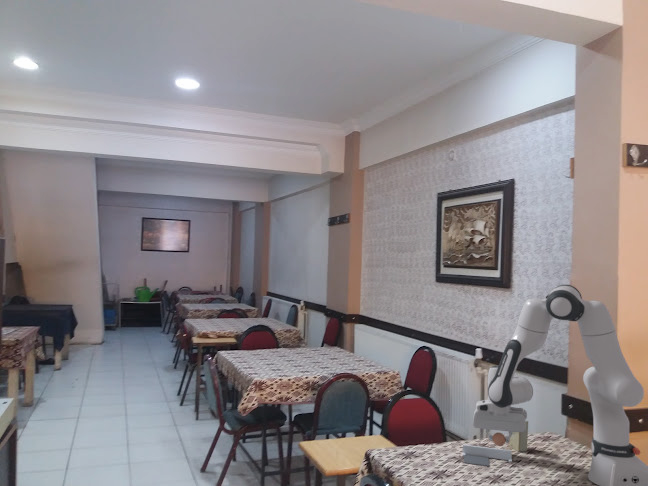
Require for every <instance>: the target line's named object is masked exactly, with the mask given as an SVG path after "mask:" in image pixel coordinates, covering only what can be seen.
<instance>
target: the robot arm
mask: <svg viewBox="0 0 648 486" xmlns="http://www.w3.org/2000/svg"><path fill="white" fill-rule="evenodd" d="M553 319H556V320H560V321H570V322H577V325H578V328H579V331H580V336H581V340H582V343H583V347H584V352H585V354H586V357H587V358H588V360H589V361H590V363H591V365H593V366H591V367H589V368H587V369H586V370H585V371H584V373H583V378H582V380H583V383H584V386H585V388H586V389H587V393H588V396H589V400H590V405H591V410H592V418H593V431H592V432H593V437H592V438H591V443H590V444H591V451H590V452H591V455H592V457H591V463H590V468H589V472H588V475H587V479H588V480H589V481H590V482H591V483H593V484H596V485H598V486H648V465H647V463H645V462H644V461H642V459H640V458H639V457H638V456H640V454H641V453H642V452H641V450H640V449H639V448H638V447H636V446H635V445H633V444H632V443H630V420H629V417H628V416H627V414H626V412H625V408H624V407H628V408H633V407H636V406H638V405H640V403H642V401H643V399H644V397H645V391H644V387H643V386H642V383H640V381H639V380H638V379H637V378H636V377H635V375H634V374H633V371H632V370H631V368H630V366H629V364H628V362H627V360H626V359H625V356H624V355H623V352H622V349H621V345H620V342H619V340H618V335H617V331H616V328H615V327H616V326H615V324H614V322H613V321H614V320H613V319H612V316H611V314H610V311H609V309H608V308H607V306H606V305H605V304H604V303H603V302H601V301H599V300H585V299H583V296H582V294H581V292H580V290H579V289H578V288H577V287H575V286H573V285H570V284H561V285H558V286H556V287H555V288H554V289H552V290H551V291H550V293H548V294H547V295H546V296H545V298H538V297H532V298H528V299H527V300H526V301H525V302H524V304H523V306H522V308H521V311H520V313H519V316H518V320H517V323H516V328H515V329H514V332H513V334H512V337H511V338H510V340H509V341H508V343H507V345H506V346H505V348H504V350H503V353H502V356H501V359H500V361H499V363H498V365H494V366H493V365H492V366H491V367H490V368H488V374H487V399H483V400H479V401H477V402H476V403H475V406H476V407H475V409H474V412H473V417H472V426H473V428H475V429H483V430H485V432H486V434H487V436H488V441H489V442H490V441H491V442H493V439H492V438H493V435H492V434H491V433H490V430H493V431H503V432H508V435H507V436H505V439H506V441H505V443H510V438H511V436H512V435H513V432H520V433H525V432H526V422H525V420H527V418H528V412H527V411H526V410H525V409H524V408H522V407H513V405H520V404H523V403H526V402H529V401H531V400H532V397H533V395H534V389H533V385H532V384H531V382H530V381H529V380H528V379H527V378H525V377H522V376H520V375H518V374H517V373H516V371H517V368H518V366H519V364H520V362H521V361H522V360H523V359H524V358H526V357H527V356H529V355H531V354H533V353H535V352H537V351H540V350H541V349H542V348H543V346H544V344H545V343H546V340H547V338H548V334H549V329H550V325H551V322H552V320H553Z"/></svg>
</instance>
